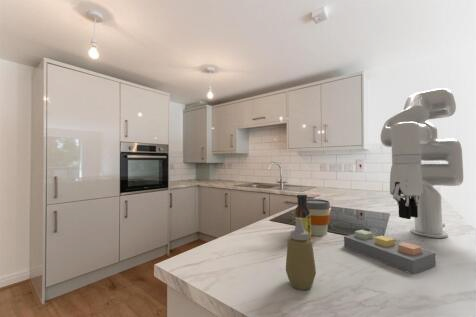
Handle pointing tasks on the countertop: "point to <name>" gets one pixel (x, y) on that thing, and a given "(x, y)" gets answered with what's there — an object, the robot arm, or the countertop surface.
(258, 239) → the countertop surface
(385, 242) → the ochre key
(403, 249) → the terracotta key
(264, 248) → the countertop surface
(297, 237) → the squeeze bottle
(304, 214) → the sauce bottle
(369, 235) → the sage key
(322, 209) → the reusable coffee cup
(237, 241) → the countertop surface
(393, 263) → the console
